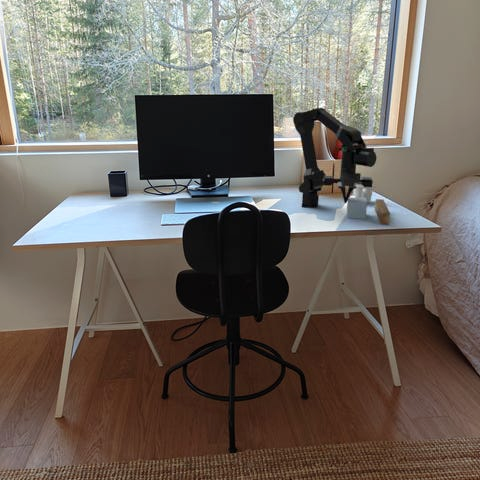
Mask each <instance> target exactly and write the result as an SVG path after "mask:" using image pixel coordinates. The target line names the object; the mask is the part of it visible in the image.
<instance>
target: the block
mask: <svg viewBox="0 0 480 480" xmlns="http://www.w3.org/2000/svg"><path fill="white" fill-rule="evenodd" d="M367 208H368V203H367V200H366V198H355V197H350V196H349V198H348V200H347V203H346V218H348V219H360V220H361V219H363V220H364V219H365V220H366V219H367V210H368V209H367Z"/></svg>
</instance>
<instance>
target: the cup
mask: <svg viewBox="0 0 480 480" xmlns="http://www.w3.org/2000/svg"><path fill="white" fill-rule="evenodd" d="M356 187H357V188H356V189H354V198H366V200H367V204H369V203H370V202H371V201H372V195H373V190H374V187H375V186H374V184H373V186H372V187H364V186H363V185H362V184H357V185H356Z"/></svg>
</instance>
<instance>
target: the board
mask: <svg viewBox="0 0 480 480" xmlns="http://www.w3.org/2000/svg"><path fill="white" fill-rule="evenodd" d="M374 204H375V205H374V212H375V214H376V217H377V220H378V222H379V225H383V226H385V225H387V226H388V225H389V224H390V217H391V212H390V210H389V208H388V206H387V204H386V201H385V200H384V199H381V198H380V199H379V198H376V199H375V203H374Z"/></svg>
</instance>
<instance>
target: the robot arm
mask: <svg viewBox="0 0 480 480" xmlns="http://www.w3.org/2000/svg"><path fill="white" fill-rule="evenodd" d="M292 117H293V118H292V121H293V125H294V128H295V130H296V131H297V133H298V134H299V137H300V142H301V148H302V154H303V161H304V167H305V171H304V173H303V182H302V183H301V184H300V185H299V187H298V192H300V193H302V201H301V202H302V203H301V207H303V208H318V205H319V198H320V195H319V193H318V192H321V191H322V188H323V186H326V187H327V186H328V187H329V186H330V187H331V186H332V185H333V184H336V185H337V186H336V187H337V189H339V190H340V191H341V194H342V198H343V203H344V204H347V201H348V198H349V197H350V196H351V194H352V193H353V191H354V190H355V189H356V188H357V187H356V185H357V184H362V185H363V186H364V187H372V186H373V185H374V180H373V178H372V177H369V176H367V177H366V176H362V174H361V173H360V172H357V166H362V167H368V168H372V167H374V165H375V164H376V163H377V158H378V157H377V153H376V152H375V151H374V150H375V149H374V147H367V145H366V142H365V141H364V139H363V137H362V132H361V131H360V130H359V129H357V128H355V127H353V126H349V125H346V124H344V123H343V122H342V121H340V120H339V119H338V118H336V117H335V116H333V115H332V114H331V113H329V112H328V111H327V110H326V109H325V108H324V107H315V108H312V109H310V110H307V111H299V112H296V113H295V114H294V116H292ZM315 122H319V123H320V124H322V125H323V126H325V127H326V128H327V129H328V130H330V131H331V132H332V133H333V134H335V137H336V139H337V140H338V142H340V144H341V145H340V146H339V147H338V148H337V151H339V152H341V159H340V162H341V163H340V171H339V173H340V175H339V178H336V177H335V178H334V176H333V175H325V171H324V170H323V169H320V168H319V167H318V161H317V156H316V154H317V153H316V149H315V143H314V136H313V130H314V128H315ZM346 187H347V188H346ZM346 189H347V190H346Z"/></svg>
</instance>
